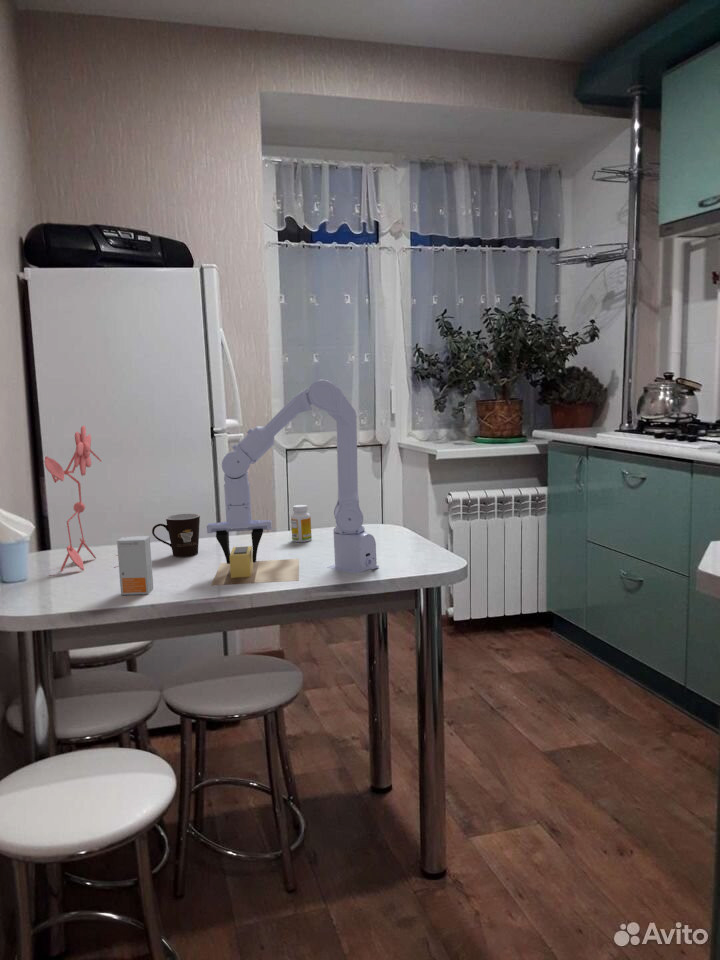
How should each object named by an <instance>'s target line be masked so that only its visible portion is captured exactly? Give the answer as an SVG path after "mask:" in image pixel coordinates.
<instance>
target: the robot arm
mask: <svg viewBox="0 0 720 960" xmlns="http://www.w3.org/2000/svg"><path fill="white" fill-rule="evenodd" d="M312 405H313V406H314V407H316V409H317V408H318V409H319V410H321V411H324V412H326V413H327V414H328V415H329V416H330V417H331V418H332V419H334V420H335V423H336V453H337V454H336V457H337V458H336V460H337V465H336V467H337V502H336V505H335V507H334V510H333V517H334V520H335V524H336V526H335V527H334V528H333V549H334V550H333V551H334V564H333V565H329V566H327V567H326V568H327V569H331V570H338V571H343V572H348V573H354V574H359V573H362V572H364V571H365V572H366V571H368V570H375V569H378V568H379V567H380V565H378V564H377V562H378V561H377V542H376V539H375V537H374V535H372V533H371V534H370V533H368V532H367V531H366V530H365V526H363V524H364V515H363V512H362V510H361V507H360V500H359V491H358V490H359V489H358V487H359V485H358V483H359V481H358V477H359V476H358V445H357V444H358V439H357V437H358V436H357V434H358V432H357V429H358V427H357V423H358V422H357V411H356V409H355V408H354V407H353V405H352V404H351V403H350V401H349V400H348V398H347V397H346V396H345V394H344V393H343V392H342V390H341V389H340V388H339V387H338V386H337V385H335V384H333V382H332V381H329V380H326V379H318V380H315V381H314V382H312V383H311V384H310V386H309V387H306V388H305V389H303V390H302V391H300V392H299V393H297V394H296V395H294V397H292V398H291V399H290V400H289V401H288V402H287V403H286V404H285V405H284V406H283V407H282V409H280V410H279V411H278V412H277V413H276V414H275V415H274V417H272V418H271V420H270V421H269V422H267V423H266V424H265V425H264V426H260V425H257V426H255V427H254V428H252V427H251V428H249V429H248V430H247V431H246V433H247V435H246V436H244V438H242V439H241V441H239V442H238V443H237V444H236V443H235V444H233V446H231V448H232V449H233V450H232V451H230V452H227V453H226V454H225V456H224V457H223V458H222V460H221V469H222V472H223V473H224V476H223V481H224V485H223V487H224V489H223V491H224V503H225V506H224V507H225V518H226V519H225V520H226V521H222V522H213V523H212V522H211V523H210V522H209V523H207V524H206V533H207V534H213V533H215V538H216V540H217V541H218V543H219V545H220V547H221V550H222V551H223V554H224V557H225V560H226V563H227V564H230V554H231V550H230V532H231V533H232V532H246V531H247V532H249V531H251V533H250V534H251V535H250V536H251V544H252V553H253V556H252V559H253V562H256V561H257V556H258V555H257V554H258V550H259V549H258V548H259V545H260V542H261V540H262V536H263V533H264V531H265V530H266V531H271V530H272V529H273V526H272V524H273V523H272V520H262V519H261V520H259V519H258V520H256V519H255V520H253V518H252V504H251V503H252V502H251V488H250V487H251V486H250V485H251V484H250V482H249V472H248V470H249V469H250V465H252V464H256V463H257V462H258V460H259V459H260V458H262V457H263V456H264V455H265V454H266V453H267V452H268V451H269V450H270V449H271V448H272V447H274V445H275V436H276V435H277V434H278V433H279V432H280V431H282V430H283V429H284V427H286V426H287V425H288V424H289V423H290V422H292V421H293V419H295V418H296V416H298V415H299V414H301V413H305V412H308V411H312V408H313V407H312Z"/></svg>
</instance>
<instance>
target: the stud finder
mask: <svg viewBox="0 0 720 960" xmlns="http://www.w3.org/2000/svg"><path fill="white" fill-rule="evenodd" d="M252 556H253V547H252V546H251V545H250V546H249V545H247V546H233V547H232V549H231V550H230V571H231V578H236V577H251V574H252V570H253V559H252Z"/></svg>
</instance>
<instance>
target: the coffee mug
mask: <svg viewBox="0 0 720 960" xmlns="http://www.w3.org/2000/svg"><path fill="white" fill-rule="evenodd" d="M200 517H201V515H200V514H198V513H178V514H172V515H169V516H165V521H166V524H164V523H158V524H155V525H154V526H153V527H152V530H151V533H152V536H153V537H154V538H155V539H156V540H157V541H159V542H161V543H163V544H165V545H167V546H169V547H170V548H171V552H172V556H173V557H176V558H189V557H195V556H197V555H199V545H200V544H199V542H200V539H199V538H200V521H201V520H200V519H201V518H200ZM158 527H163V528H164V529H166V531H167V532H168V536H169V542H167V541H165V540H163V539H161V538H160V537H158V536H157V535H156V534H155V529H157V528H158Z"/></svg>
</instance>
